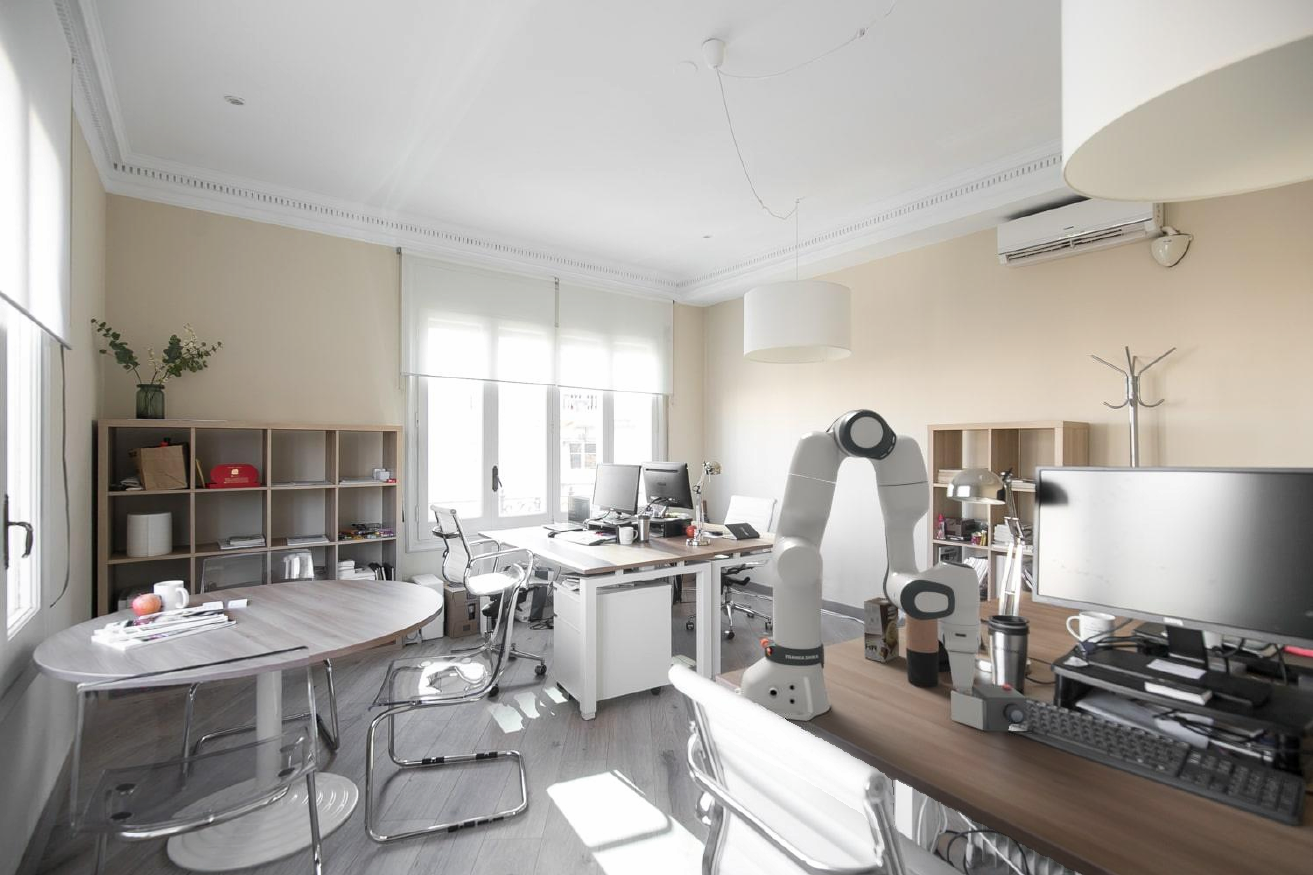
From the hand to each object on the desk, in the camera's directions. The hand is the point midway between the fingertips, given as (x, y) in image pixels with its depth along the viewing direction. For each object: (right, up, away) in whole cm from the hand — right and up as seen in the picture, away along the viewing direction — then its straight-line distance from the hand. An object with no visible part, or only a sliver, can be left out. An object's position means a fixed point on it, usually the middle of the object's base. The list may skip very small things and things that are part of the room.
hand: (960, 695), depth 136 cm
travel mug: (-1, -4, +18) cm, 18 cm away
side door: (-2, -3, -8) cm, 8 cm away
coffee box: (-4, -5, +38) cm, 38 cm away
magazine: (+6, -5, +26) cm, 27 cm away
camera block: (+5, -3, -7) cm, 9 cm away
